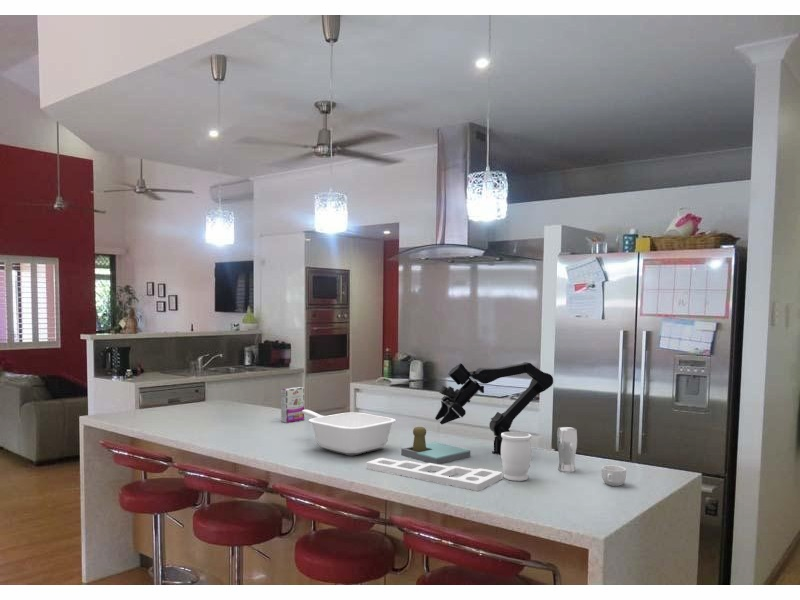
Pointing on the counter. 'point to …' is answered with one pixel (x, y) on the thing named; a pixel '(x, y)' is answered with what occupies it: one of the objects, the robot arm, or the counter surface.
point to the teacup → (613, 475)
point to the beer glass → (566, 448)
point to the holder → (438, 473)
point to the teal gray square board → (437, 453)
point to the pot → (350, 431)
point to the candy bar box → (292, 404)
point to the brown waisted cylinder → (419, 439)
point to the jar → (516, 455)
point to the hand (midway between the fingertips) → (438, 421)
